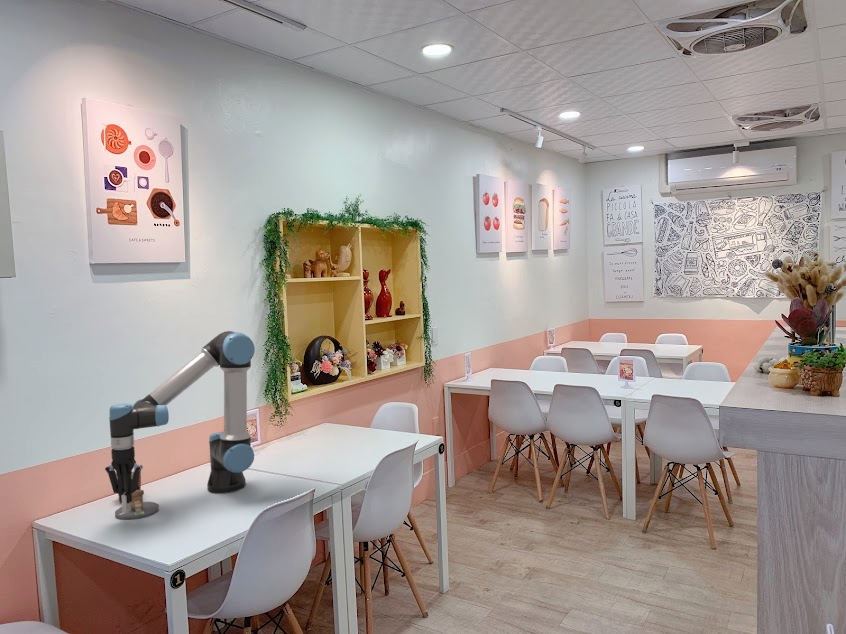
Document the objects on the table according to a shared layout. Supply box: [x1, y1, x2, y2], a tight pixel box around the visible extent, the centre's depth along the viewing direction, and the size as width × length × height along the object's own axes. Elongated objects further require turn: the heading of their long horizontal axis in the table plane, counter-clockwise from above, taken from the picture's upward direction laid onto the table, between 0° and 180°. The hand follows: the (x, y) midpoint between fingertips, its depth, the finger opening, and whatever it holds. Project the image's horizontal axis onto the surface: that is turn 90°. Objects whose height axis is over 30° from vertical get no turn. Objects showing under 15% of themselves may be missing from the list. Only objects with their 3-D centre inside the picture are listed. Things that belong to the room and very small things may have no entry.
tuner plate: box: [114, 501, 160, 521], centre depth 242 cm, size 15×15×1 cm
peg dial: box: [130, 489, 145, 512], centre depth 239 cm, size 12×5×6 cm, turn 27°
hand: (126, 511), depth 234 cm, fingers closed
